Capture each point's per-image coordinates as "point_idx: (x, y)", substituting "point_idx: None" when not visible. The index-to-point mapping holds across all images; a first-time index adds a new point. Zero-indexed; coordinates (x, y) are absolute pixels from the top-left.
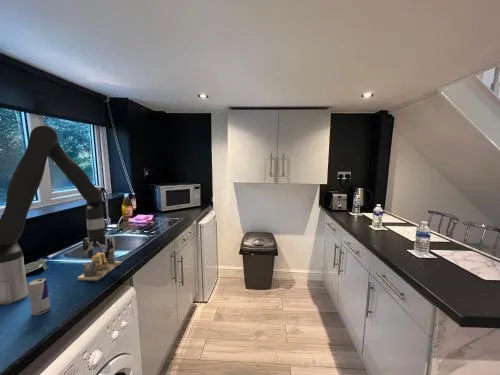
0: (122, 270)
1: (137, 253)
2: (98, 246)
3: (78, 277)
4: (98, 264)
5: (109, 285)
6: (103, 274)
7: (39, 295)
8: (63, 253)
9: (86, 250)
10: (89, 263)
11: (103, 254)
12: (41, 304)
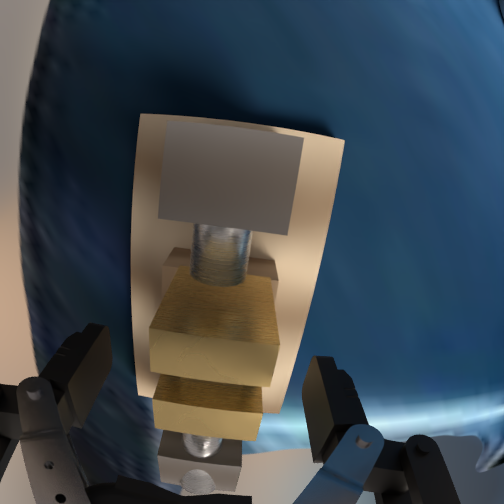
0: (61, 275)
1: (138, 468)
2: (139, 492)
3: (335, 139)
4: (190, 275)
5: (39, 53)
6: (136, 191)
7: None
8: (491, 450)
9: (387, 441)
10: (226, 178)
11: (155, 397)
12: None
